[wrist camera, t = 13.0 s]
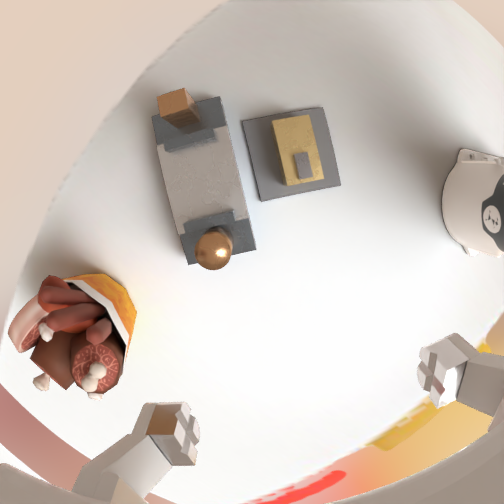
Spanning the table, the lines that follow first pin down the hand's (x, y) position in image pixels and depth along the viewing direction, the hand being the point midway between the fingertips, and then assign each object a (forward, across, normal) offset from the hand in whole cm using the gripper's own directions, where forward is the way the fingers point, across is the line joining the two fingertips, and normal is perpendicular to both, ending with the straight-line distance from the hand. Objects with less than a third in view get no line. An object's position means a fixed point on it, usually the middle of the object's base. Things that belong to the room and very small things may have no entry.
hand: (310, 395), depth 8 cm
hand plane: (+31, +6, -8) cm, 33 cm away
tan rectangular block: (+30, -6, -9) cm, 32 cm away
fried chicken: (+31, +27, +6) cm, 42 cm away
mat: (+31, -6, -9) cm, 33 cm away
